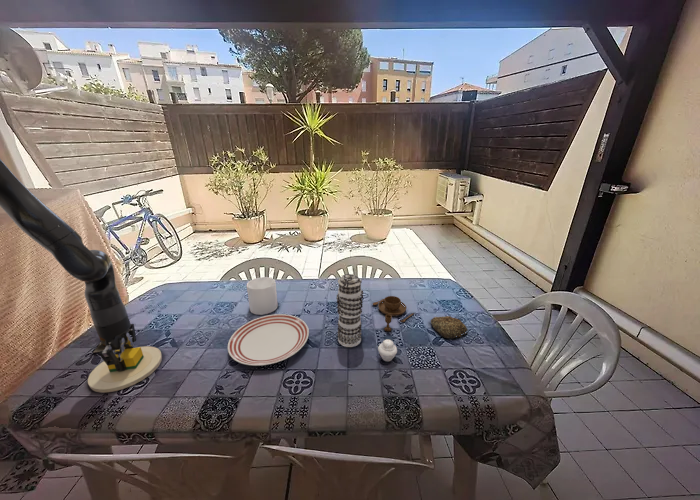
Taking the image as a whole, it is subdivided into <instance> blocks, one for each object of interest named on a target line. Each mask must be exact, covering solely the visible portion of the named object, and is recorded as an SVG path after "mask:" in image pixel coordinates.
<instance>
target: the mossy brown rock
mask: <svg viewBox="0 0 700 500" xmlns="http://www.w3.org/2000/svg"><path fill="white" fill-rule="evenodd" d="M430 324H431V328H432V329H434V330H435V332H437V333H438V334H439V335H440V336H442V337H443V338H445V339H459V338H461V337H463V336H464V335H466V334H467V333H468V328H467V326H466V325H465V323H464V322H463V321H462V320H461V319H459V318H457V317H452V316H450V315H446V316H434V317H432V319H431V320H430ZM466 331H467V332H466ZM465 332H466V333H465ZM463 333H464V334H463ZM461 334H463V335H461ZM456 336H457V337H456Z"/></svg>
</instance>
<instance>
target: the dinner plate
mask: <svg viewBox="0 0 700 500" xmlns="http://www.w3.org/2000/svg"><path fill="white" fill-rule="evenodd" d="M309 335H310V329H309V326H308V325H307V323H306V322H305V321H304V320H303V319H301V318H300V317H298V316H296V315H291V314H285V313H276V314H275V313H274V314H269V315H268V314H267V315H262V316H260V317H257V318H255V319H252V320H250V321H248V322H245V324H243V325H242V326H240V327H239V328H238V329H236V330H235V331H234V333H233V334H232V335H231V336H230V338H229V340H228V343H227V352H228V355H229V356H230V358H231V359H232V360H234V361H235V362H236V363H239V364H242V365H246V366H253V367H260V366H268V365H274V364H276V363H279V362H282V361H285V360H287V359H289V358H292V356H294V355H296V354H297V353H298V352H299V351H300V350H301V349H302V348H303V347H304V346H305V345H306V343H307V341H308V339H309Z"/></svg>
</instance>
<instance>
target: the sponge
mask: <svg viewBox="0 0 700 500" xmlns="http://www.w3.org/2000/svg"><path fill="white" fill-rule="evenodd" d="M137 347H138V348H137ZM137 347H133V348H130V349H125V348H124V352H123V359H124V362H125V365H126V368H127V369H126V370H128V369H134V368H137V366H138V365H139V363H140V362H141V360H142V359H143V358H144V356H143V353H142V350H141V347H142V346H137ZM114 351H120V349H119V350H114ZM116 357H117V358H119V357H118V354H117V355H116ZM110 361H111V360H110ZM108 368H109V371H110V372H114V371H117V370H116V368H115V365H108Z"/></svg>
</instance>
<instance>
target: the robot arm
mask: <svg viewBox="0 0 700 500" xmlns="http://www.w3.org/2000/svg"><path fill="white" fill-rule="evenodd" d="M0 208H1V209H2V210H3V211H4V213H6V214H7V216H8V217H9V218H10V219H11V220H12V221H13V223H14V224H15V225H16V226H17V227H18V228H19V229H20V230H21V231H22V232H23V233H25V234H26V235H27V236H28V237H29V238H30V239H32V240H33V241H35V242H36V243H37V244H38V245H39V246H41V247H42V248H44V249H45V250H46V251H47V252H48V253H50V254H51V255H52V256H53V258H54V259H55V260H56V261H57V262H58V264H59V265H60V266H61V267H62V268H63V269H64V270H65V271H66V272H67V273H68V274H69V275H70V276H72V277H73V278H75V279H76V280H78V281H81V282H84V285H85V287H84V298H85V301H86V304H87V306H88V309H89V313H90V319H91V320H92V323H93V326H94V329H95V332H96V334H97V336H98V338H99V337H100V338H103V339H104V340H105V345H106V348H105V349H104V350H103V351H100V352H98V353H99V356H100V358H101V359H102V360H103V361H104V362H105V363H106V364H107V366H108V365H115V368H116V370H117V371H118V372H121V371H125V370H126V369H127V368H126V365H125V362H124V359H123V352H124V349H130V348H134V346H135V343H134V342H137V336H136V335H137V334H136V328H135V323H131V321H130V317H129V315H128V312H127V309H126V306H125V304H124V302H123V301H122V300H123V299H122V297H121V294H120V291H119V288H118V286H117V283H116V276H115V269H114V264H113V261H112V259H111V257H110V256H109V255H108V254H107V253H106V252H104V251H102V250H99V249H89V248H88V247H87V246H86V245H85V244H84V242H83V237H82V236H81V235H80V234H79V233H78V232H77V230H75V229H74V228H73V227H71V225H69V224H68V223H67V222H66V221H65V220H63V219H62V218H61V217H60V216H59V215H58V214H57V213H55V212H54V211H53V210H52V209H50V207H48V206H47V204H45V203H43V202H42V201H41V200H40V199H39V198H38V197H37V196H36V195H35V194H34V193H33V192H31V191H30V190H29V189H28V188H27V186H25V185H24V183H23V182H21V181H20V179H19V178H17V177H16V175H15V174H14V173H13V172H12V170H10V168H9V167H8V166H7V165H6V164H5V162H4V161H3V160H2V159H1V158H0ZM100 338H99V339H100ZM115 350H120V351H115ZM117 354H118V357H119V358H117V357H116V355H117ZM110 360H111V361H110Z"/></svg>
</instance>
